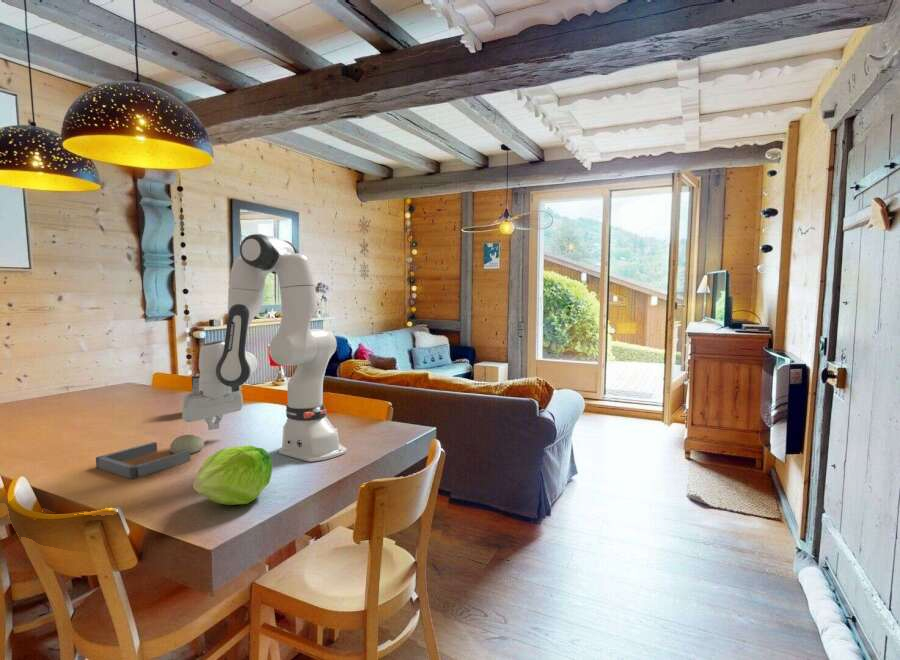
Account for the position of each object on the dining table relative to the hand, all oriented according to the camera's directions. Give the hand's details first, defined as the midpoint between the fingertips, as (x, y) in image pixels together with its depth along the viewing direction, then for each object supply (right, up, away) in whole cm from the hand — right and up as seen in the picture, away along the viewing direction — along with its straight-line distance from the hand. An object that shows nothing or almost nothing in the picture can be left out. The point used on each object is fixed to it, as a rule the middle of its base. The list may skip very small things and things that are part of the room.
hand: (213, 428), depth 160 cm
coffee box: (-24, -1, +39) cm, 46 cm away
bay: (-10, -6, -21) cm, 24 cm away
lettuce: (+28, -9, -45) cm, 54 cm away
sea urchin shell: (-4, -6, -9) cm, 11 cm away
